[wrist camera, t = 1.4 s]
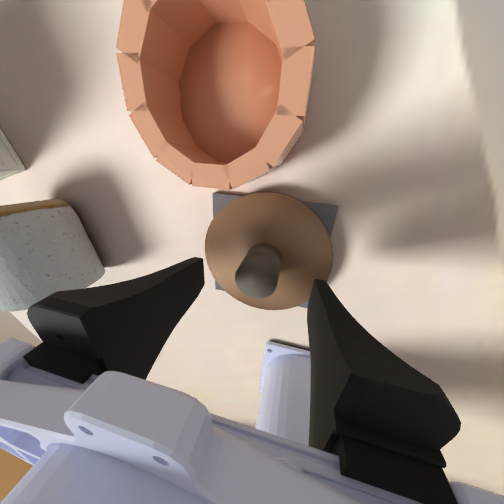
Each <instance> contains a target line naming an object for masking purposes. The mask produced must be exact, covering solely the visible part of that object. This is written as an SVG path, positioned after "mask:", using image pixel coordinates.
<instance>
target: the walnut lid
mask: <svg viewBox="0 0 504 504" xmlns="http://www.w3.org/2000/svg"><path fill="white" fill-rule="evenodd" d="M205 255H206V260H207V264H208V266H209V269H210V271H211V273H212V275H213V277H214V278H215V280H216V281H217V282H218V284H219V285H220V286H221V287H222V288H223V289H224V290H225V291H226V292H227V293H228V294H230V295H231V296H232V297H234V298H235V299H237V300H239V301H240V302H243V303H245V304H247V305H250V306H252V307H256V308H260V309H266V310H282V309H288V308H292V307H296V306H298V305H301V304H303V303H305V302H307V301H308V300H309V298H310V294H311V290H312V286H313V282H314V278H315V279H320V280H325V281H327V279H328V277H329V274H330V272H331V267H332V259H333V254H332V246H331V242H330V239H329V235H328V233H327V231H326V228H325V226H324V225H323V223H322V222H321V220H320V219H319V218H318V216H317V215H316V214H315V213H314V212H313V211H312V210H311V209H310V208H309V207H307V206H306V205H304V204H303V203H302V202H300V201H298V200H296V199H294V198H292V197H289V196H286V195H283V194H279V193H273V192H259V193H252V194H248V195H245V196H242V197H240V198H238V199H236V200H234V201H233V202H231V203H229V204H227V205H226V206H225V207H224V208H222V209H221V210H220V211H219V212H218V214H217V215H216V216H215V217H214V219H213V220H212V222H211V224H210V226H209V228H208V231H207V234H206V239H205Z"/></svg>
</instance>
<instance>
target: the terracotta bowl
mask: <svg viewBox="0 0 504 504" xmlns="http://www.w3.org/2000/svg"><path fill="white" fill-rule="evenodd" d="M314 42H315V38H314V34H313V31H312V27H311V24H310V20H309V17H308V13H307V10H306V6H305V3H304V0H124V3H123V9H122V15H121V21H120V27H119V33H118V39H117V45H116V48H118V49H119V50H120V51H122V52H123V53H116V54H117V60H118V65H119V70H120V75H121V81H122V86H123V91H124V96H125V102H126V107H127V111H130V112H132V113H131V114H130V115H129V116H130V118H131V120H132V122H133V123H134V125H135V127H136V128H137V130H138V132H139V133H140V135H141V137H142V139H143V140H144V142H145V144H146V145H147V147H148V149H149V151H150V152H151V154H152V156H153V157H154V158H157V160H156V161H158V162H159V163H160V164H162V165H163V166H164V167H166V168H167V169H169V170H170V171H171V172H173V173H174V174H175V175H177V176H178V177H179V178H181V179H182V180H184V181H185V182H186V183H188V184H192V186H199V187H209V188H218V189H228V190H230V189H234V188H236V187H239V186H241V185H243V184H246V183H248V182H250V181H252V180H254V179H256V178H258V177H260V176H262V175H264V174H266V173H268V172H270V171H272V170H273V169H275V168H277V167H279V166H278V165H281V164H282V163H283V161H284V160H285V158H286V157H287V155H288V154H289V152H290V151H291V149H292V148H293V146H294V145H295V143H296V142H297V140H298V139H299V137H300V136H301V134H302V133H303V128H304V127H305V121H306V114H307V108H308V101H309V95H310V89H311V82H312V72H313V62H314V52H315V46H314Z"/></svg>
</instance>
